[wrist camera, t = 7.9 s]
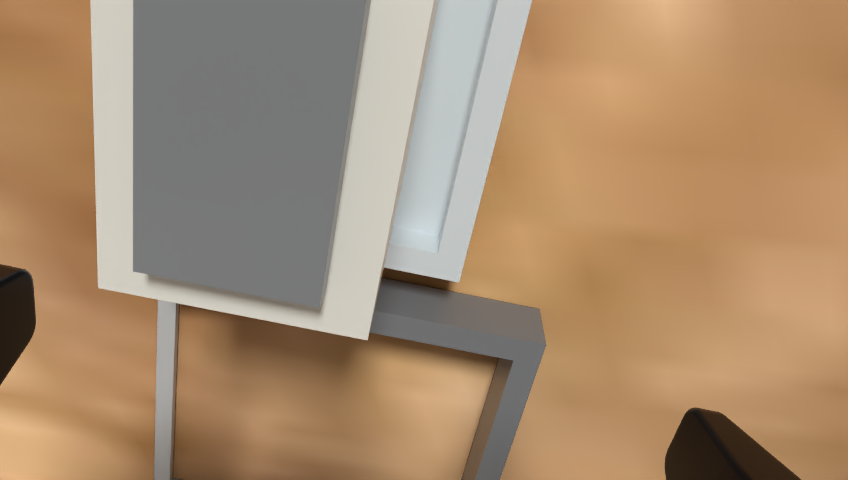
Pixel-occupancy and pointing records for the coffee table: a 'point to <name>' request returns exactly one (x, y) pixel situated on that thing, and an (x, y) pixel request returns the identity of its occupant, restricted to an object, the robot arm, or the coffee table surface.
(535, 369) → the grey flat square frame
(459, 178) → the tray
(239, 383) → the coffee table surface
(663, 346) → the coffee table surface
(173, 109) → the cream box grey panel
